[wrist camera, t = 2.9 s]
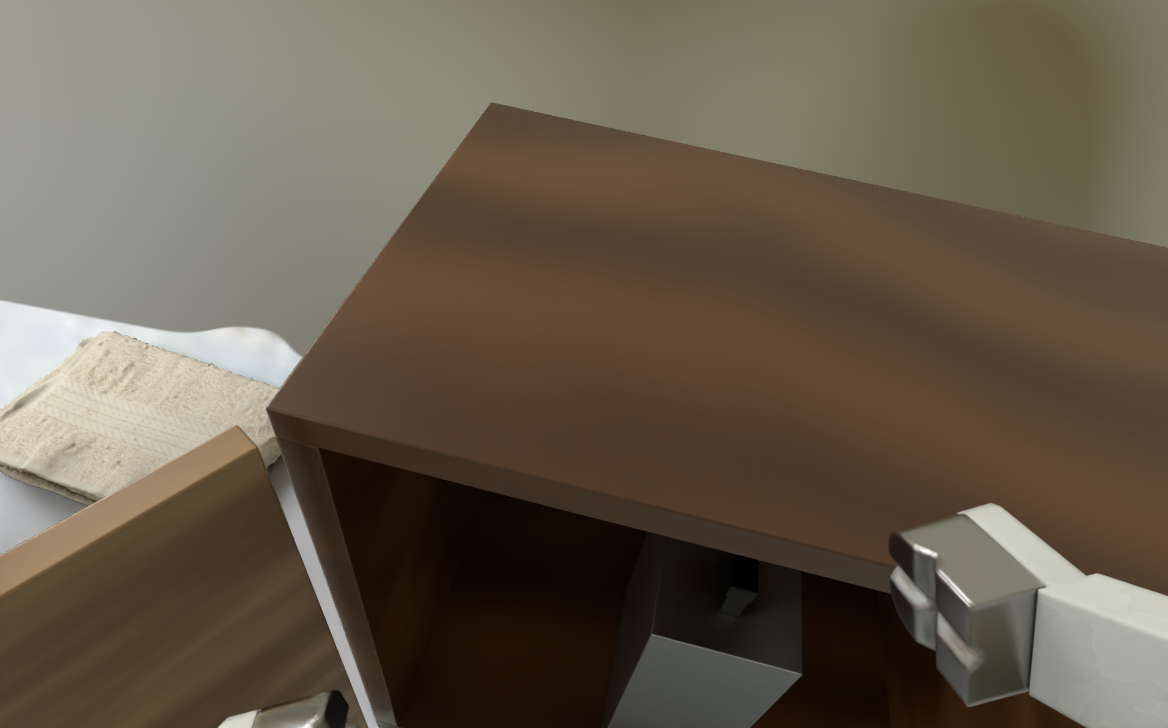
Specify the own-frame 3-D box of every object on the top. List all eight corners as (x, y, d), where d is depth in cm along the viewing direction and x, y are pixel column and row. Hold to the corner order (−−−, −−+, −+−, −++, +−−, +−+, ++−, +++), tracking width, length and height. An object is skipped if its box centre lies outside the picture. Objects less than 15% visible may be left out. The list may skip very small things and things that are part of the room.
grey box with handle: (597, 749, 35) (661, 610, 23) (626, 589, 41) (689, 413, 29) (700, 778, 34) (824, 654, 22) (714, 612, 41) (816, 444, 28)
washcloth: (107, 346, 51) (91, 316, 49) (323, 413, 49) (315, 385, 47) (-35, 468, 43) (-63, 439, 41) (217, 555, 41) (202, 529, 39)
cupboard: (917, 880, 33) (1492, 718, 15) (377, 727, 35) (263, 408, 16) (883, 559, 46) (1167, 246, 27) (485, 459, 48) (490, 101, 29)
